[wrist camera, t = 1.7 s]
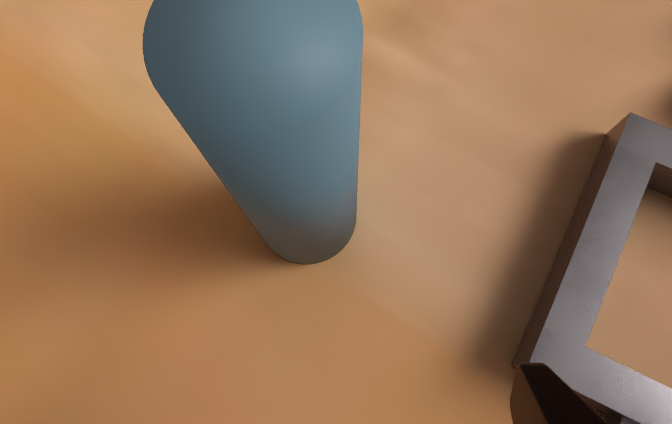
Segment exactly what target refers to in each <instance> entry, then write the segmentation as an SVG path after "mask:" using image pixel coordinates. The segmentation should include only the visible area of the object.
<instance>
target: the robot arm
mask: <svg viewBox="0 0 672 424" xmlns="http://www.w3.org/2000/svg"><path fill="white" fill-rule="evenodd" d="M510 409H511V415H512V420H513V424H608V423H607V422H606V421H605V420H604V419H603V418H602V417H601V416H600V415H599V414H598V413H597V412H596V411H595V410H593V409H592V408H591V407H590V406H589V405H588V404H587V403H586V402H585V401H584V400H583V399H582V398H581V397H580V396H579V395H578V394H577V393H576V392H575V391H574V390H572V389H571V388H570V387H569V386H568V385H567V384H566V383H565V382H564V381H563V380H562V379H561V378H560V377H559V376H558V375H557V374H556V373H555V372H554V371H553V370H552V369H550V368H549V367H548V366H547V365H546V364H544V363H529V362H522V363H520V364H518V366H517V368H516V372H515V377H514V382H513V387H512V392H511V397H510Z"/></svg>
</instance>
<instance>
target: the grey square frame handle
mask: <svg viewBox="0 0 672 424" xmlns="http://www.w3.org/2000/svg"><path fill="white" fill-rule="evenodd" d="M646 187H650V188H652V189H654V190H656V191H659V192H661V193H663V194H666V195H668V196H670V197H672V130H671V129H669V128H667V127H664V126H662V125H659V124H657V123H655V122H652V121H650V120H648V119H645V118H643V117H640V116H638V115H636V114H633V113H631V112H630V113H629V114H628V115H627V116H626V117H625V118H624V119H623V120H621V121H620V122H619V123H618V124H617V125H616V126H615V127H614V128H612V129H611V130H610V131H609V132H608V133H607V135H606V137H605V140H604V142H603V145H602V147H601V149H600V152H599V154H598V157H597V159H596V162H595V164H594V166H593V169H592V171H591V174H590V176H589V179H588V181H587V183H586V186H585V188H584V191H583V193H582V196H581V198H580V200H579V203H578V205H577V208H576V210H575V213H574V215H573V217H572V220H571V222H570V225H569V227H568V229H567V232H566V234H565V237H564V239H563V242H562V244H561V246H560V249H559V251H558V254H557V256H556V259H555V261H554V263H553V266H552V268H551V271H550V273H549V276H548V278H547V280H546V283H545V285H544V288H543V290H542V293H541V295H540V297H539V300H538V302H537V305H536V307H535V310H534V312H533V314H532V317H531V319H530V322H529V324H528V326H527V329H526V331H525V334H524V336H523V339H522V341H521V343H520V346H519V348H518V351H517V353H516V356H515V358H514V360H513V363H512V365H511V367H513V368H515V369H516V368H517V366H518V364H520V363H522V362H529V363H544V364H546V365H547V366H548V367H549V368H550V369H552V370H553V371H554V372H555V373H556V374H557V375H558V376H559V377H560V378H561V379H562V380H563V381H564V382H565V383H566V384H567V385H568V386H569V387H570V388H571V389H572V390H574V391H575V392H576V393H577V394H578V395H579V396H580V397H581V398H582V399H583V400H584V401H585V402H586V403H587V404H588V405H589V406H591V407H593V408H595V409H597V410H599V411H601V412H603V413H605V414H607V416H606V419H605V421H606V422H607V423H608V424H672V389H671V388H669V387H667V386H665V385H663V384H661V383H658V382H656V381H654V380H652V379H650V378H648V377H646V376H644V375H642V374H640V373H638V372H636V371H634V370H632V369H630V368H628V367H626V366H623V365H621V364H619V363H617V362H615V361H613V360H611V359H609V358H607V357H605V356H603V355H601V354H599V353H597V352H595V351H593V350H591V349H588V348H586V347H585V345H586V343H587V340H588V338H589V335H590V332H591V330H592V327H593V325H594V322H595V319H596V317H597V314H598V312H599V309H600V306H601V304H602V301H603V298H604V296H605V293H606V291H607V288H608V285H609V283H610V280H611V278H612V275H613V272H614V270H615V267H616V265H617V262H618V259H619V257H620V254H621V252H622V249H623V246H624V244H625V241H626V239H627V236H628V233H629V231H630V228H631V226H632V223H633V220H634V218H635V215H636V213H637V210H638V207H639V205H640V202H641V200H642V197H643V194H644V192H645V189H646Z"/></svg>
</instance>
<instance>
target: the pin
mask: <svg viewBox="0 0 672 424" xmlns="http://www.w3.org/2000/svg"><path fill="white" fill-rule="evenodd" d="M362 46H363V25H362V17H361V13H360V9H359V5H358V3H357V1H356V0H154V1H153V3H152V5H151V8H150V10H149V12H148V15H147V19H146V22H145V26H144V33H143V55H144V62H145V65H146V69H147V72H148V75H149V77H150V79H151V81H152V83H153V86H154V87H155V89H156V90H157V92H158V93H159V95H160V96H161V98H162V99H163V100H164V102H165V103H166V105H167V106H168V107H169V109H170V110H171V112H172V113H173V114H174V116H175V117H176V119H177V120H178V121H179V123H180V124H181V126H182V127H183V128H184V130H185V131H186V133H187V134H188V135H189V137H190V138H191V139H192V141H193V142H194V144H195V145H196V146H197V148H198V149H199V151H200V152H201V153H202V155H203V156H204V158H205V159H206V160H207V162H208V163H209V165H210V166H211V167H212V169H213V170H214V172H215V173H216V174H217V176H218V177H219V179H220V180H221V181H222V183H223V184H224V186H225V187H226V188H227V190H228V191H229V192H230V194H231V195H232V197H233V198H234V199H235V201H236V202H237V204H238V205H239V206H240V208H241V209H242V211H243V212H244V213H245V215H246V216H247V218H248V219H249V220H250V222H251V223H252V225H253V226H254V227H255V229H256V230H257V232H258V233H259V234H260V236H261V237H262V239H263V240H264V241H265V243H266V244H267V245H268V247H269V248H270V249H271V250H272V251H273V252H274V253H275V254H277V255H278V256H280V257H281V258H283V259H285V260H287V261H290V262H293V263H298V264H315V263H319V262H322V261H325V260H328V259H330V258H331V257H333V256H335V255H336V254H338V253H339V252H340V251H341V250H342V249H343V248H344V247H345V246H346V244H347V243H348V241H349V240H350V238H351V236H352V234H353V231H354V228H355V224H356V209H357V182H358V155H359V128H360V100H361V73H362Z"/></svg>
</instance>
